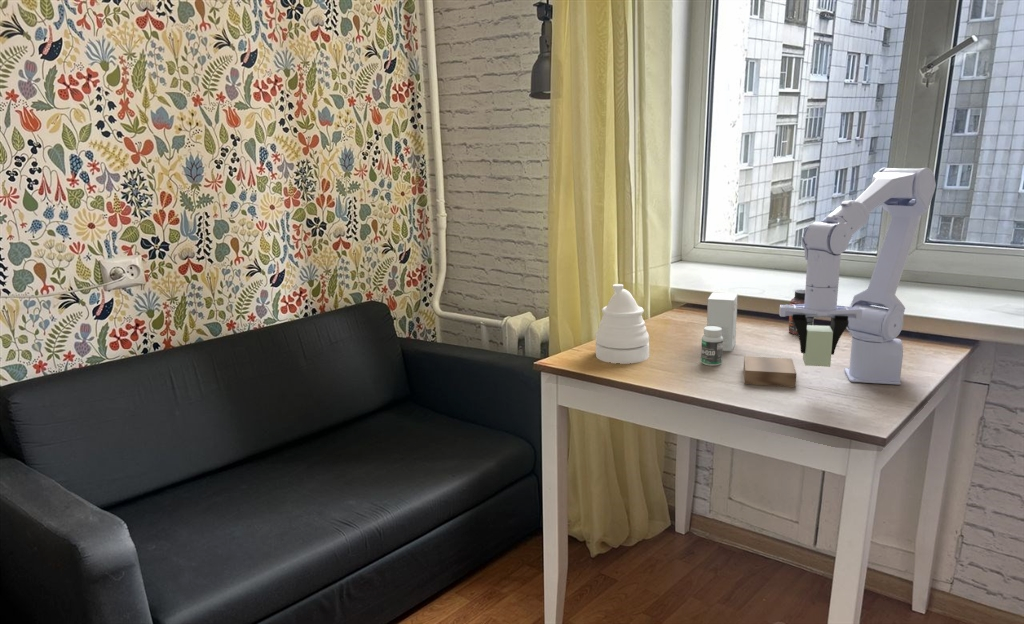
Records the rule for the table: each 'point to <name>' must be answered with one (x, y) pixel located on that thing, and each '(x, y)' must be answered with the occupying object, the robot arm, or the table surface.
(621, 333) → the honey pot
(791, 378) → the walnut base
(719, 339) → the pill bottle
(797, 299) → the supplement bottle
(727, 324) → the small box
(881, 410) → the table surface
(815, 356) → the sage block
